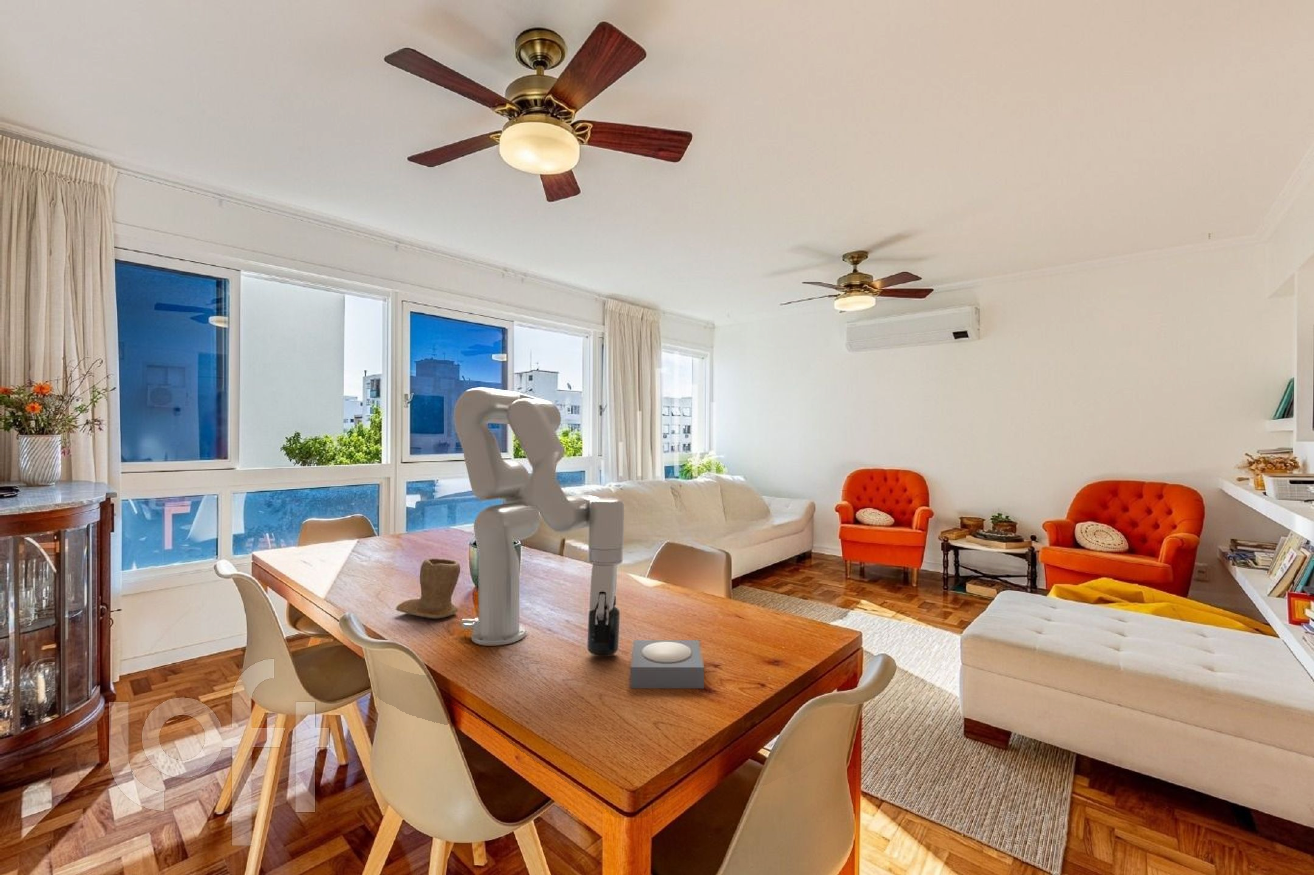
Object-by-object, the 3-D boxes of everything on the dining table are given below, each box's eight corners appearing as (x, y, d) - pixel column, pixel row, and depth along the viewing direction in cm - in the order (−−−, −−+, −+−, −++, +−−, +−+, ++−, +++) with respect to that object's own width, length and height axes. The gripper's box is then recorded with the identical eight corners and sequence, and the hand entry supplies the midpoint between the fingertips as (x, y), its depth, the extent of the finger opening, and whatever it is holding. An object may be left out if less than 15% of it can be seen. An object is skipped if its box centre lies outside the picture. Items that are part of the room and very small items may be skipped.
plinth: (630, 688, 104) (630, 665, 104) (633, 658, 118) (633, 638, 118) (703, 688, 104) (703, 665, 104) (698, 658, 118) (698, 638, 118)
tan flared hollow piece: (469, 612, 150) (469, 557, 150) (434, 625, 139) (434, 566, 139) (430, 604, 157) (430, 552, 157) (394, 616, 146) (394, 560, 146)
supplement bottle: (593, 658, 115) (595, 602, 115) (582, 647, 121) (584, 593, 121) (623, 653, 118) (625, 598, 118) (611, 642, 124) (612, 589, 124)
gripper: (593, 546, 128) (591, 621, 128) (582, 563, 111) (580, 651, 111) (625, 547, 128) (623, 622, 128) (619, 564, 111) (617, 652, 111)
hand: (603, 635), depth 119 cm, fingers closed on supplement bottle, 6 cm apart
